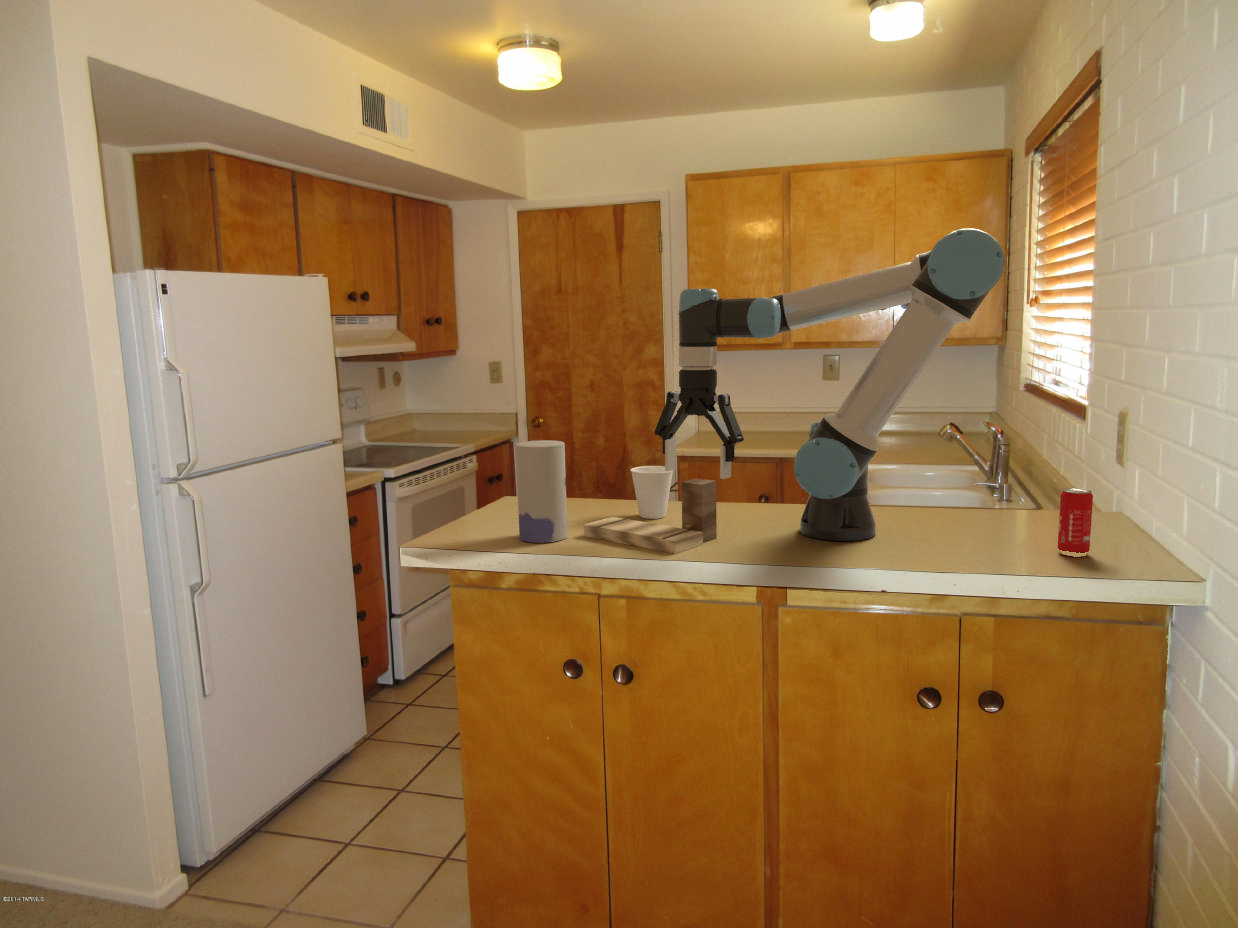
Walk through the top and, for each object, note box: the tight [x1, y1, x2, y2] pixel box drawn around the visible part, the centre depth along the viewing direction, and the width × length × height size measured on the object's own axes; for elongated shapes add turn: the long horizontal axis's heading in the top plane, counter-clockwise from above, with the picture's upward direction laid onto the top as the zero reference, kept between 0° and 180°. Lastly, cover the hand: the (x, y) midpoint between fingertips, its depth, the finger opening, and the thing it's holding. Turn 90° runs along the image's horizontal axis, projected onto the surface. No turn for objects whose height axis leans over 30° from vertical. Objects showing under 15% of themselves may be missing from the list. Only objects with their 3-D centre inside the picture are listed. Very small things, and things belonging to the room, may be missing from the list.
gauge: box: [681, 478, 718, 544], centre depth 172 cm, size 5×6×12 cm
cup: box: [630, 465, 675, 520], centre depth 195 cm, size 10×10×11 cm
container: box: [515, 439, 568, 544], centre depth 176 cm, size 10×10×20 cm
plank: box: [583, 516, 704, 555], centre depth 174 cm, size 24×9×3 cm, turn 49°
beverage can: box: [1057, 487, 1094, 553], centre depth 156 cm, size 5×5×12 cm
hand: (697, 474), depth 172 cm, fingers open, 13 cm apart
